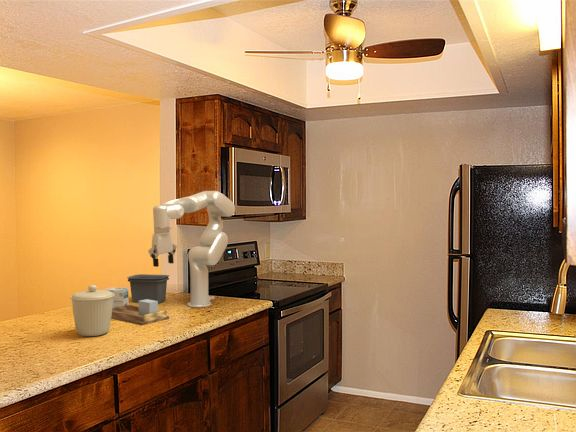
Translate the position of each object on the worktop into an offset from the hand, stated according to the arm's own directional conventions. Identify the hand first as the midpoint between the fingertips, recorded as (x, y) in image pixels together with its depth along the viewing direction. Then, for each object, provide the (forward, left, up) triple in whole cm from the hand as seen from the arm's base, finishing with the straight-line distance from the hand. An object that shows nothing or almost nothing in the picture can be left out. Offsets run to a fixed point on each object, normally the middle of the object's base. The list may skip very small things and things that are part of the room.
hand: (163, 264), depth 270 cm
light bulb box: (+6, -29, -25) cm, 39 cm away
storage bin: (-17, -31, -25) cm, 44 cm away
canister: (+43, +5, -25) cm, 50 cm away
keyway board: (+13, -5, -25) cm, 28 cm away
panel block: (+13, +4, -24) cm, 27 cm away
